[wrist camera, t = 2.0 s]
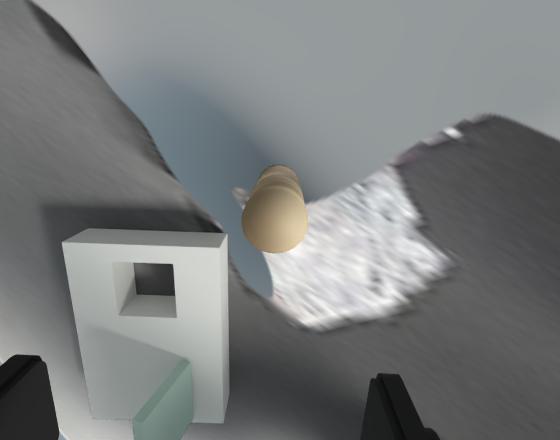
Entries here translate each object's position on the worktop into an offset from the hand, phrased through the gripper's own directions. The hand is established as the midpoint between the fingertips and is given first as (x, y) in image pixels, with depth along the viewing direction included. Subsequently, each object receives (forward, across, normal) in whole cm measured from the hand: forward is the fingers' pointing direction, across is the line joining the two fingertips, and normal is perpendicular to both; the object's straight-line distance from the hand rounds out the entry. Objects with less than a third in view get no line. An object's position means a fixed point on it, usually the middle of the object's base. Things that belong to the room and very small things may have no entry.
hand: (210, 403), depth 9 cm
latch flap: (+16, +8, +19) cm, 26 cm away
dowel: (+23, -2, -2) cm, 23 cm away
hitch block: (+23, +10, +13) cm, 29 cm away
